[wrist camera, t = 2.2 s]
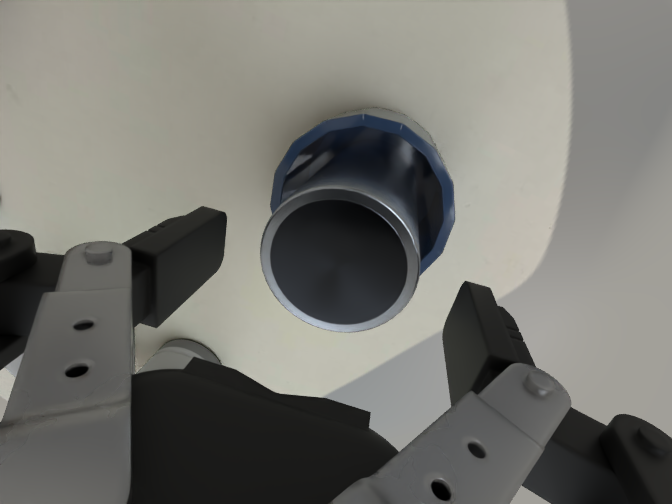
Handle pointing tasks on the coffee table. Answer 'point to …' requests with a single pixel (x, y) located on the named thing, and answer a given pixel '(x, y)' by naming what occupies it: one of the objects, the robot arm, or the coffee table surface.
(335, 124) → the bucket
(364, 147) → the silver cup
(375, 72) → the coffee table surface
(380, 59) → the coffee table surface
